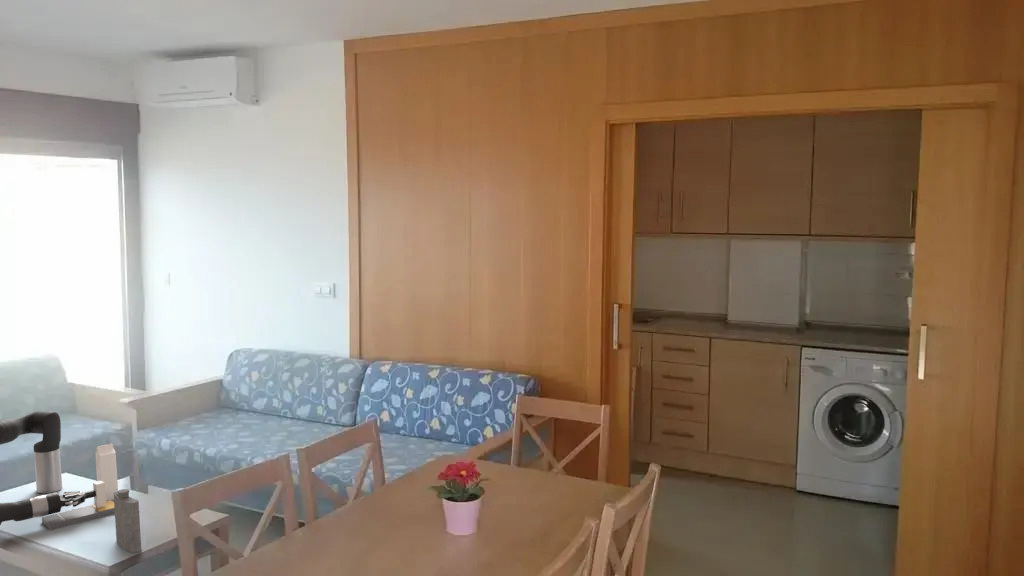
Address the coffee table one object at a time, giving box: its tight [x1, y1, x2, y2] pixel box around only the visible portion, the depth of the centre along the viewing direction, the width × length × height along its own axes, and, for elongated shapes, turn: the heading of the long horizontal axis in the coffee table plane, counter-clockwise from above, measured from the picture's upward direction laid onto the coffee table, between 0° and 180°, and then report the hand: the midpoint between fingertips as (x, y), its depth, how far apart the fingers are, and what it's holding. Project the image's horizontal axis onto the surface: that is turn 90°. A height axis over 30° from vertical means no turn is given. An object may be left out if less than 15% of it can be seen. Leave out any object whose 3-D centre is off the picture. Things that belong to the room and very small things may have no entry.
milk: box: [94, 443, 119, 501], centre depth 323 cm, size 6×6×22 cm
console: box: [41, 499, 115, 531], centre depth 305 cm, size 10×26×2 cm, turn 134°
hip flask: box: [113, 488, 142, 554], centre depth 276 cm, size 16×4×20 cm, turn 47°
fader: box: [92, 480, 106, 508], centre depth 308 cm, size 4×3×9 cm
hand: (95, 493), depth 307 cm, fingers closed
